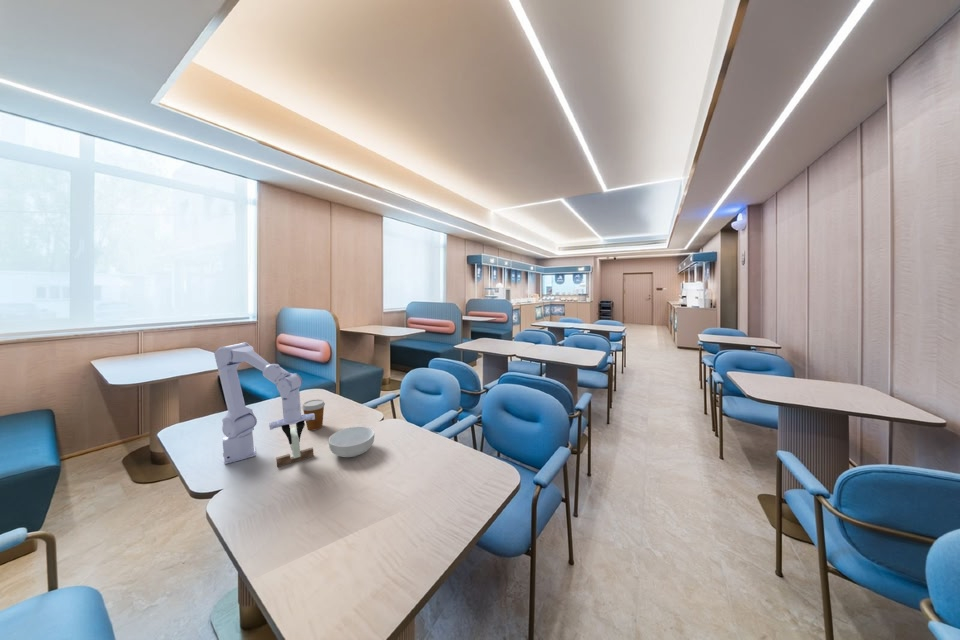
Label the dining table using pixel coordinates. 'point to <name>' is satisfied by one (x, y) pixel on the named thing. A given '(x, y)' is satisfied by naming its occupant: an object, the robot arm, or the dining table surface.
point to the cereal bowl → (351, 441)
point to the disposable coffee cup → (317, 409)
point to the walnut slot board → (287, 459)
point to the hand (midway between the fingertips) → (294, 442)
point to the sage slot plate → (295, 443)
